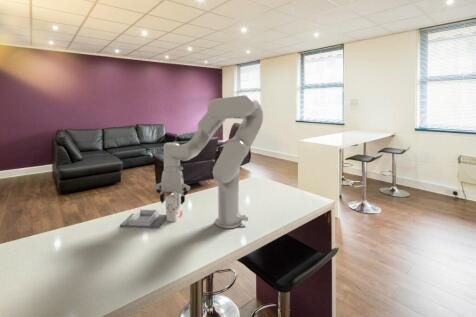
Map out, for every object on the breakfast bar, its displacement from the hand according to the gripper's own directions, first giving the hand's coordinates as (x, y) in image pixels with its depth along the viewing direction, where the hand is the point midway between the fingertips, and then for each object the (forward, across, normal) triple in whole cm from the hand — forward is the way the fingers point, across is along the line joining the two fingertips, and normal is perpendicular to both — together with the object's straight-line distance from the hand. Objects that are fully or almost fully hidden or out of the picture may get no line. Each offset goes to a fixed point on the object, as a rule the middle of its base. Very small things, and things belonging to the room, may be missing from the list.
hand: (172, 202), depth 133 cm
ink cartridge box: (+8, -1, 0) cm, 8 cm away
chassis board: (+8, +12, +5) cm, 15 cm away
